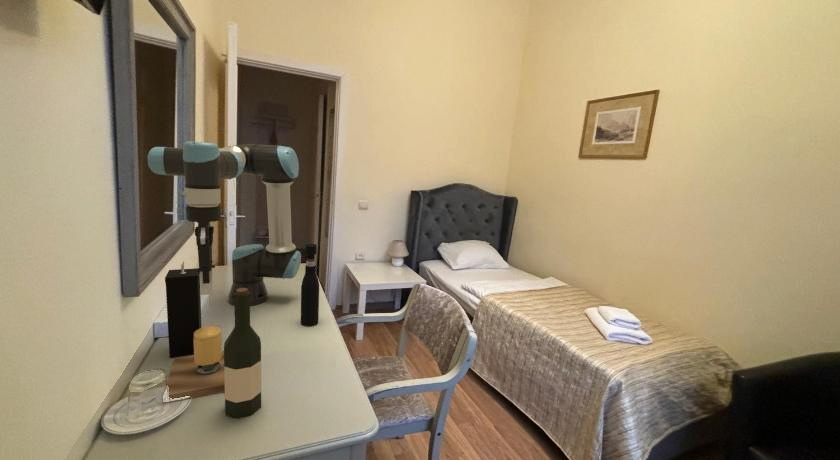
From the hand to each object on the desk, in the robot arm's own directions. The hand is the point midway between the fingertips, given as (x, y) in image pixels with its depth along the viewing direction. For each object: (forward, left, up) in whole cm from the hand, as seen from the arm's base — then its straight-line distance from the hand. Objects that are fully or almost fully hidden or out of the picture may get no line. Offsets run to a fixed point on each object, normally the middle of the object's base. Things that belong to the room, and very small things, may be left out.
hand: (207, 293), depth 94 cm
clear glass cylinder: (0, 0, -22) cm, 22 cm away
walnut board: (0, 0, -24) cm, 24 cm away
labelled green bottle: (+17, +8, -24) cm, 31 cm away
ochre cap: (0, 0, -19) cm, 19 cm away
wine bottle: (-25, +31, -24) cm, 46 cm away
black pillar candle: (-17, -7, -24) cm, 30 cm away
